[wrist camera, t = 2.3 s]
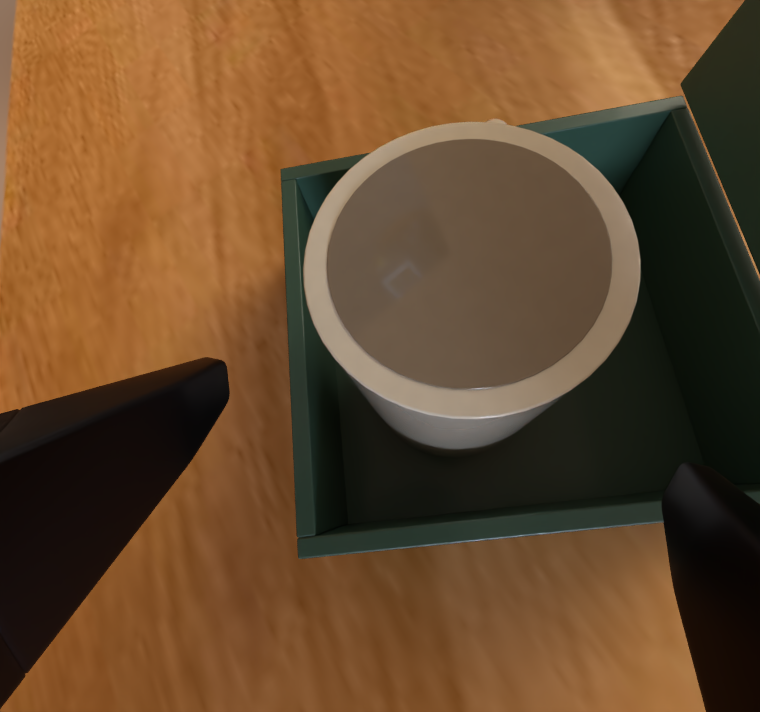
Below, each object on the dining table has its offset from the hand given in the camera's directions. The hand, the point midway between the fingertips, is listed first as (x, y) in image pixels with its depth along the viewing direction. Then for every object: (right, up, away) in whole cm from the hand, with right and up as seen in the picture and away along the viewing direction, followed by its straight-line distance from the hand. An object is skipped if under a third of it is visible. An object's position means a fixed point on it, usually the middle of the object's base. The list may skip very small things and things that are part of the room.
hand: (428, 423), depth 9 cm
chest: (+4, +1, +11) cm, 12 cm away
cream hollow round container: (+2, +2, +11) cm, 11 cm away
